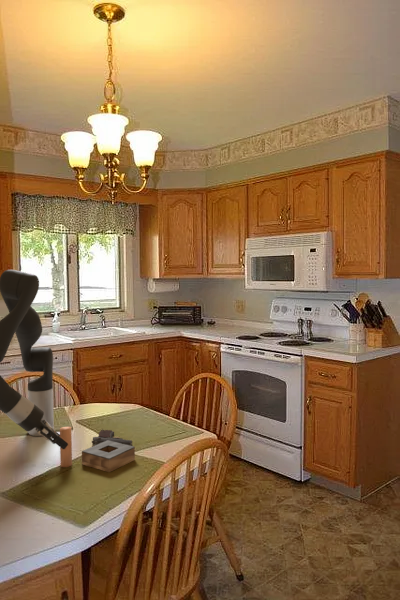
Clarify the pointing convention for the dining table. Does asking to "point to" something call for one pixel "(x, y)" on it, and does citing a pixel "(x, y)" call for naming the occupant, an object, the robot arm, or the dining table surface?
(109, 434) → the pistol
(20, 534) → the dining table surface
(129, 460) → the socket
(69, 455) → the peg
